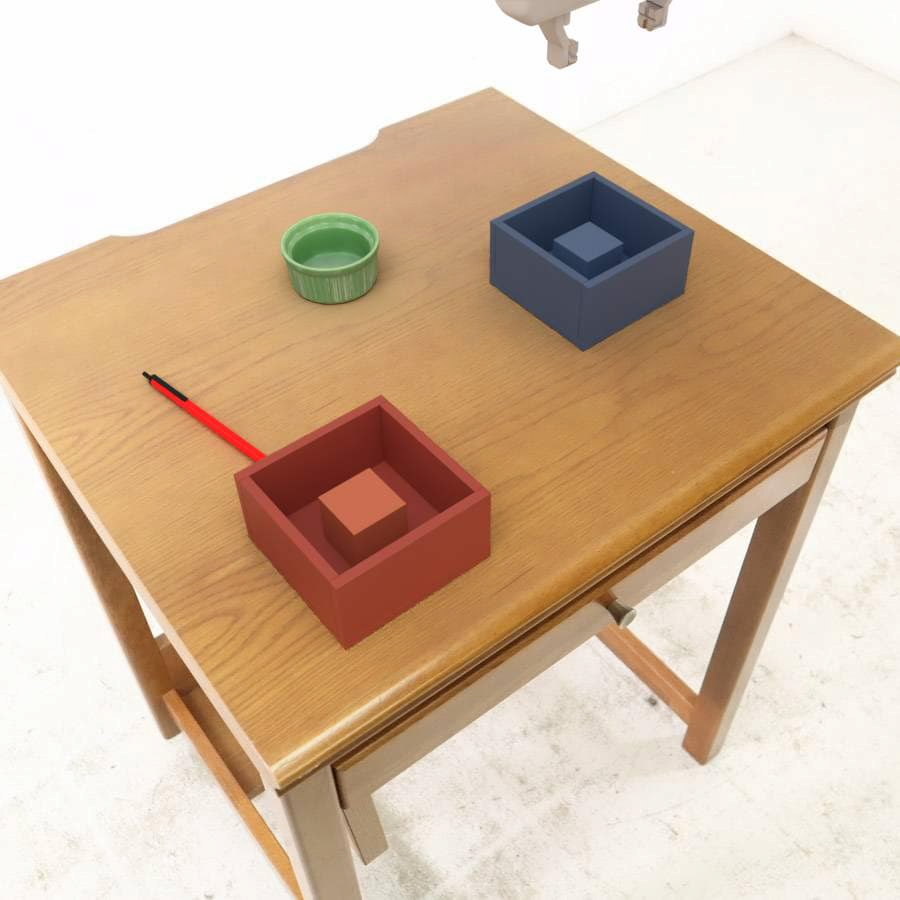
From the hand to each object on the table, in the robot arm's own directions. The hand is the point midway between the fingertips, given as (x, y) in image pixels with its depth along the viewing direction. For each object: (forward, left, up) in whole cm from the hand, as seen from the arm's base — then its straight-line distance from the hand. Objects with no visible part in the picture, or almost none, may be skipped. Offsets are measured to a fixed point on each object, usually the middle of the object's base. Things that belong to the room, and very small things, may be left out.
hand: (607, 45), depth 81 cm
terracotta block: (-12, +33, -22) cm, 42 cm away
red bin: (-12, +33, -23) cm, 42 cm away
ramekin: (+16, +17, -23) cm, 33 cm away
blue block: (0, 0, -22) cm, 22 cm away
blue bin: (0, 0, -23) cm, 23 cm away
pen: (+5, +36, -23) cm, 43 cm away
